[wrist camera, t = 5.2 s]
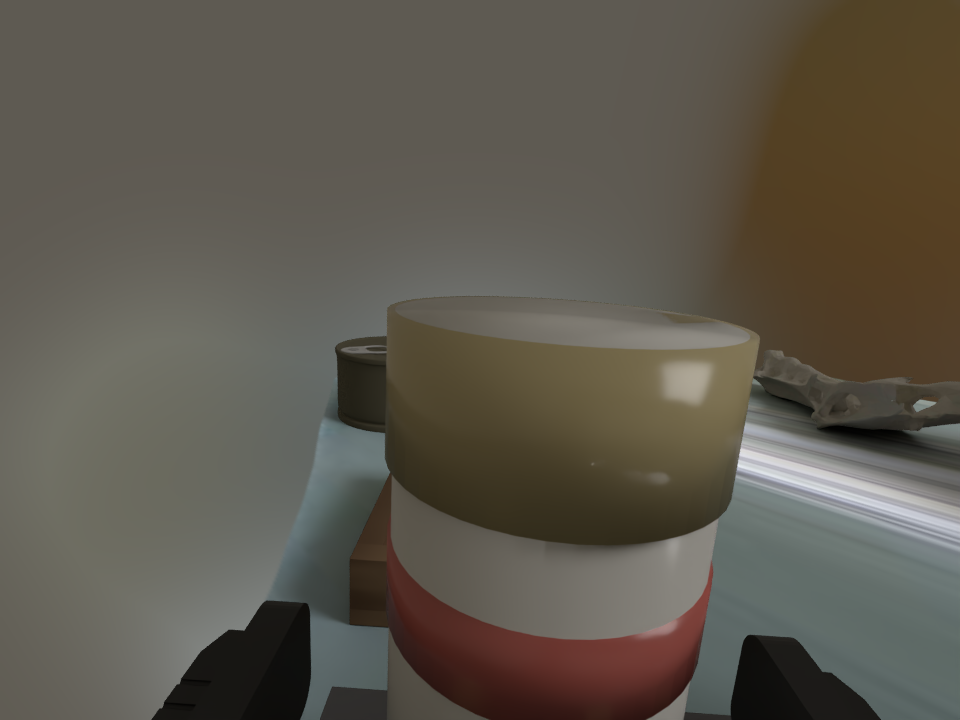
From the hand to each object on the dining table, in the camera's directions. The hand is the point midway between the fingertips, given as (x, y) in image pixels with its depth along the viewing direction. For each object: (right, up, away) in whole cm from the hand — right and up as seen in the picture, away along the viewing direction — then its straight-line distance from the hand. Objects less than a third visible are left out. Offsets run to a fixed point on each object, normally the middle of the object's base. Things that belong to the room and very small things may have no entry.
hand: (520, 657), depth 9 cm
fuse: (0, -10, +1) cm, 10 cm away
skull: (+40, -2, +48) cm, 63 cm away
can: (-9, 0, +42) cm, 43 cm away
